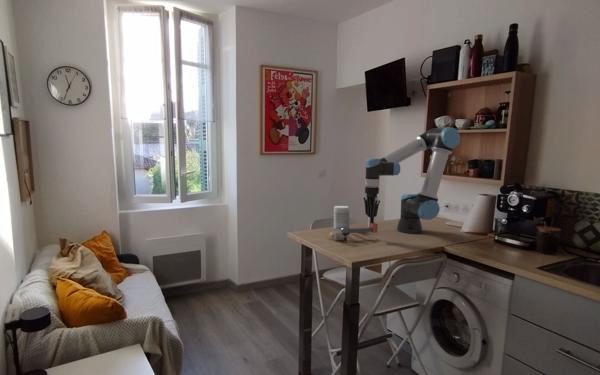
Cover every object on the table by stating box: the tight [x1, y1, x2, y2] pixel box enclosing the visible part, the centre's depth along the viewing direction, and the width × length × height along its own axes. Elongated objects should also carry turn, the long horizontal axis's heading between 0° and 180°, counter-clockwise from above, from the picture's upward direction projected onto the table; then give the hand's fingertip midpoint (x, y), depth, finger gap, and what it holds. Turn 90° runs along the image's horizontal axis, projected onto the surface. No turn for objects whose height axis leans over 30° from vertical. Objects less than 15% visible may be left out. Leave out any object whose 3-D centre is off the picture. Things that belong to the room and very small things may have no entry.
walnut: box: [329, 231, 335, 241], centre depth 190 cm, size 5×5×4 cm
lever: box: [333, 222, 379, 241], centre depth 189 cm, size 24×5×8 cm, turn 106°
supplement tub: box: [333, 205, 350, 230], centre depth 216 cm, size 10×10×15 cm
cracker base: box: [326, 233, 383, 248], centre depth 189 cm, size 23×20×2 cm
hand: (370, 228), depth 195 cm, fingers closed
